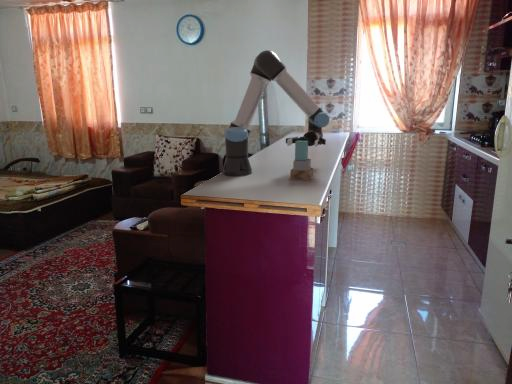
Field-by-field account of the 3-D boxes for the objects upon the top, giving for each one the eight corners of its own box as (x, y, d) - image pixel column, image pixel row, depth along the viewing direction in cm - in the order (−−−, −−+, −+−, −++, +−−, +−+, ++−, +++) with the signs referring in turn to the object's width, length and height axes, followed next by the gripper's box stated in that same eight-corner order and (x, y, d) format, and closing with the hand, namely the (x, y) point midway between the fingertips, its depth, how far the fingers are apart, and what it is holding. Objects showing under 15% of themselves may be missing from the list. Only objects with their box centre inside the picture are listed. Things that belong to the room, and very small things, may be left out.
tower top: (293, 170, 192) (293, 161, 191) (295, 167, 199) (295, 158, 198) (308, 170, 190) (309, 161, 189) (310, 167, 197) (310, 158, 196)
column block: (294, 160, 192) (295, 141, 190) (297, 158, 197) (298, 140, 195) (305, 160, 190) (305, 141, 189) (307, 159, 195) (308, 140, 193)
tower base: (290, 179, 193) (290, 170, 192) (295, 175, 201) (295, 166, 200) (308, 180, 190) (309, 171, 189) (312, 176, 198) (312, 167, 197)
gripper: (334, 146, 208) (327, 151, 189) (288, 144, 217) (276, 150, 197) (334, 131, 207) (327, 136, 187) (288, 130, 215) (276, 134, 196)
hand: (301, 143), depth 192 cm, fingers open, 13 cm apart
